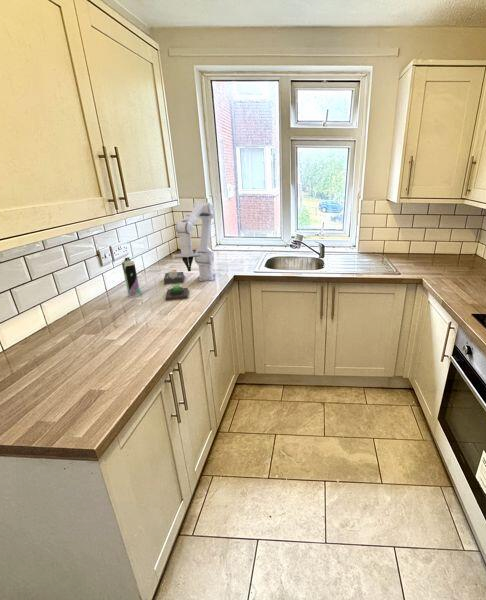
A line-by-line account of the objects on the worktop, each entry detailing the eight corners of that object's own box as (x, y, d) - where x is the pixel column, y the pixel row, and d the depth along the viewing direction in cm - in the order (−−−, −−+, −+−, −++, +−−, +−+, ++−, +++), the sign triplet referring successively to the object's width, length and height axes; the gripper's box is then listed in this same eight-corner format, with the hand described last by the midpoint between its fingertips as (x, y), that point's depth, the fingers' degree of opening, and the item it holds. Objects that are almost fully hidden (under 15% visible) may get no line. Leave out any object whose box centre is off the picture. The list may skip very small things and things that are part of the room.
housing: (168, 292, 167) (167, 286, 165) (188, 290, 169) (187, 284, 168) (166, 300, 156) (164, 294, 155) (187, 298, 159) (186, 292, 157)
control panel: (166, 277, 189) (165, 272, 187) (184, 276, 191) (183, 271, 190) (164, 285, 177) (163, 279, 176) (183, 283, 180) (182, 278, 178)
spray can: (135, 297, 159) (127, 259, 151) (126, 296, 160) (118, 258, 152) (142, 293, 164) (135, 256, 156) (133, 292, 165) (126, 255, 157)
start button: (173, 289, 163) (172, 285, 162) (180, 288, 164) (180, 285, 163) (172, 291, 159) (172, 288, 159) (180, 290, 160) (179, 287, 160)
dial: (169, 278, 178) (168, 271, 177) (169, 275, 182) (168, 269, 181) (177, 277, 180) (176, 271, 178) (177, 275, 183) (176, 269, 182)
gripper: (170, 248, 157) (174, 274, 162) (200, 246, 161) (203, 271, 166) (171, 245, 163) (175, 270, 168) (200, 243, 167) (203, 268, 172)
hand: (189, 270), depth 168 cm, fingers closed
